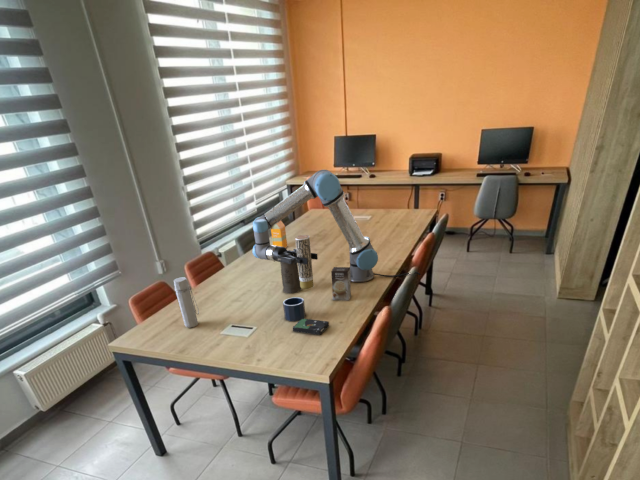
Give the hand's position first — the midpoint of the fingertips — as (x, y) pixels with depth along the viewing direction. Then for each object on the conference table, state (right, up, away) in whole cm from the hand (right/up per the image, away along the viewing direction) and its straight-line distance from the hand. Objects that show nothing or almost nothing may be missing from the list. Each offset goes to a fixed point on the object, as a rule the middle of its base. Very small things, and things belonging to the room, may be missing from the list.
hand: (312, 259), depth 218 cm
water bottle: (-62, -28, +21) cm, 71 cm away
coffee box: (+18, -13, +25) cm, 33 cm away
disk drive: (-1, -34, -1) cm, 34 cm away
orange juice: (-17, +47, +116) cm, 126 cm away
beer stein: (-9, -2, +46) cm, 47 cm away
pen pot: (-8, -26, +13) cm, 30 cm away
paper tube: (-2, -11, +12) cm, 16 cm away
